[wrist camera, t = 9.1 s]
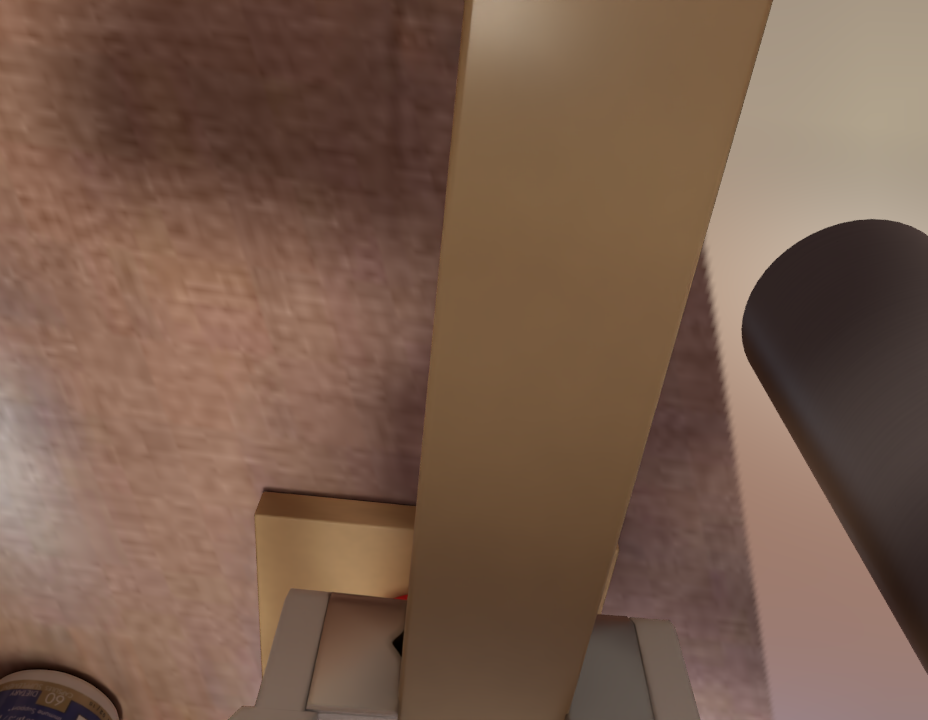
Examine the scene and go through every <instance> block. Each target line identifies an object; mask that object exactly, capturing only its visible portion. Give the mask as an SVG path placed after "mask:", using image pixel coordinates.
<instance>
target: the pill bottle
mask: <svg viewBox="0 0 928 720" xmlns="http://www.w3.org/2000/svg"><path fill="white" fill-rule="evenodd" d="M0 720H119V717H118V713H117V710H116V708H115V707H114V705H113V703H112V702H111V701H110V700H109V699H108V698H107V696H106V695H104V694H103V693H102V692H101V691H100V690H99V689H97V688H96V687H94V686H93V685H91V684H89V683H88V682H86V681H84V680H82V679H80V678H78V677H75V676H73V675H70V674H67V673H63V672H59V671H53V670H41V669H36V670H24V671H19V672H15V673H12V674H10V675H7V676H5V677H3V678H2V679H0Z"/></svg>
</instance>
